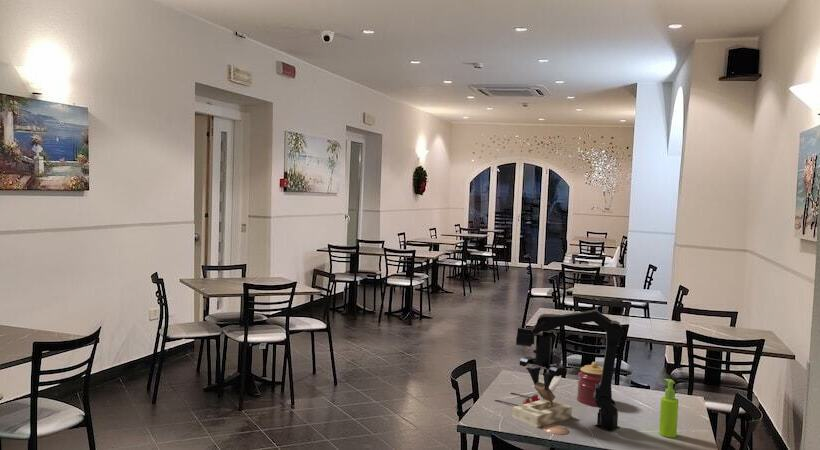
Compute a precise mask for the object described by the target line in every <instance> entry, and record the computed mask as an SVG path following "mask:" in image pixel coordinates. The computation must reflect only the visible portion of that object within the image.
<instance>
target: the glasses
mask: <svg viewBox="0 0 820 450" xmlns="http://www.w3.org/2000/svg"><path fill="white" fill-rule="evenodd" d="M509 394H513V395H517V396H521V397H525V398H526V399H524V400H523V402H522V404H521V405H523V404H527V403H531V402H535V401H539V400H541V399H540V398H539V393H538V394H537V393H536V394H534V395H532V396H529V395H524V394H519V393H516V392H510V393H509ZM530 399H531V400H530ZM493 402H500V403H505V404H508V405H513V406H519V405H520V404H516V403H515V404H514V403H511V402H508V401H504V400H499V399H495V400H494V401H493Z"/></svg>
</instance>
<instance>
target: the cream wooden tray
mask: <svg viewBox="0 0 820 450" xmlns="http://www.w3.org/2000/svg"><path fill="white" fill-rule="evenodd" d="M530 402H531V403H527V404H524V403H522V404H523V405H522V404H518V405H519V406H516V405H514V406H513V407H512V418H514V419H516V420H518V421H521V422H523V423H525V424H528V425H530V426H531V427H535V428H539V427H543V426H545V425H550V424H555V423H558V422H561V421H564V420H569V419H572V409H573V408H572V406H571V405H568V404H565V403H563V402H558V401H556V400H553V401H552V402H550V401H547V400H545V399H543V398H542V399H540V400H538V401H535V402H532V401H530Z"/></svg>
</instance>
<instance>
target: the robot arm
mask: <svg viewBox="0 0 820 450" xmlns="http://www.w3.org/2000/svg"><path fill="white" fill-rule="evenodd" d="M592 322H593V323H595V324H596V325H598V327H600V328H601V329H602V330H604V331H605V339H606V340H605V341H606V346H605V352H604V358H603V364H602V367H603V370H602V376H601V381H600V383H599V385H598V384H595V392H594V393H593V394H594V399H595V400H596V404H597V406H598V407H597V408H598V412H597V419H596V421H597V422H596V424H595V427H597V428H600V429H603V430H605V431H608V432H612V431H615V430H619V429H621V426H619V425H618V423H619V422H618V420H619V416H618V415H619V412H618V407H617V402H616V401H615V400H614V399H613V398H612V397H613V396H612V395H613V394H612V381H613V374H614V368H615V362H616V356H617V348H618V347H619V344H620V342H621V339H622V336H623V334H624V329H623V326H622V324H621V322H619V321H617V320H613V319H610V318H609V317H608V316H606V315H604V313H603V314H602V313H601V312H600V311H599V310H597V309H592V310H587V311H579V312H573V313H566V314H556V313H555V314H554V313H542V314H540V315H539V316H538V317H537V321H536V324H535V325H533V326H532V328H523V327H517V333H516V337H515V345H516V346H520V347H532V346H533V345H535V349H533V350H532V351H533V353H534V354H535V356H534V357H532V356H525V357H524V356H523V357H521V358H520V359H519V366H522V367H526V368H525V369H526V370H527V372H528V373H529V375H530V378H531V379H532V382H533V386H534V385H535V384H536V383H537V382H540V380H539V378H540V371H541V370H542V369H543V370H546V372H544V373H543V380H544V386H545V390H548V388H549V386H550V383H551V381H552V379H553V377H560V376H565V375H567V371H568V370H567V368H566V366H563V365H560V363H561V360H562V356H558V355H556V354H554V350H552V341H553V340H552V338H553V339H554V338H557V336H558V335H557V333H556V332H555V331H554V330H555V329H557V328H560V327H564V326H571V325H578V324H587V323H592ZM535 339H536V340H535Z"/></svg>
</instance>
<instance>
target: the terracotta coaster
mask: <svg viewBox="0 0 820 450" xmlns="http://www.w3.org/2000/svg"><path fill="white" fill-rule="evenodd" d="M542 429H543V430H544V432H546V433H548V434H552V435H559V436H563V435H568V433H569V429H568V428H567V427H566V426H563V425H559V424H554V423H551V424H547V425H544V426H542Z"/></svg>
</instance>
